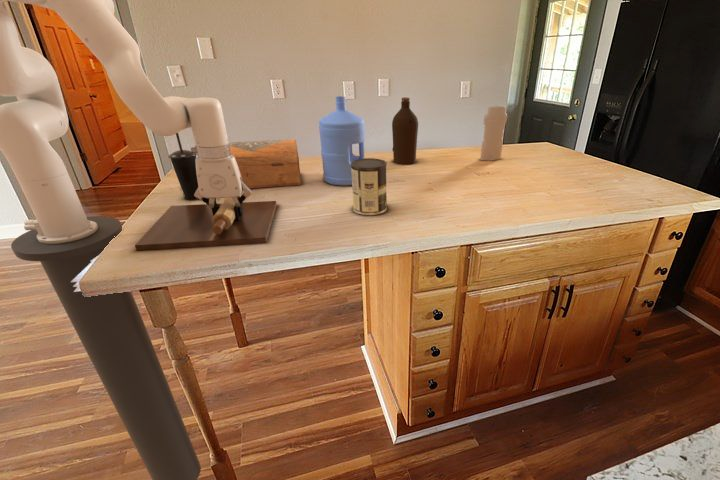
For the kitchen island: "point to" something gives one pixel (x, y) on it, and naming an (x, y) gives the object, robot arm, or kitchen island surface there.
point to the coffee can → (369, 186)
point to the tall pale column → (493, 133)
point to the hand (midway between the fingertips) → (229, 218)
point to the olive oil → (404, 134)
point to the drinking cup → (185, 170)
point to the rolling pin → (224, 216)
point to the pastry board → (208, 227)
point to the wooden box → (267, 162)
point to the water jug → (340, 143)
